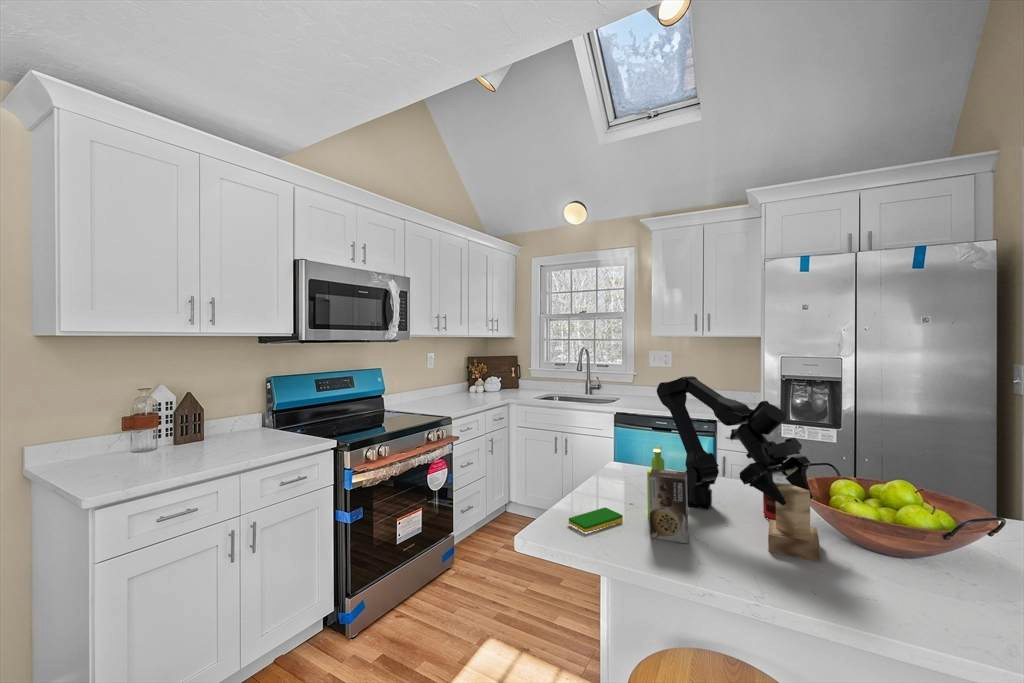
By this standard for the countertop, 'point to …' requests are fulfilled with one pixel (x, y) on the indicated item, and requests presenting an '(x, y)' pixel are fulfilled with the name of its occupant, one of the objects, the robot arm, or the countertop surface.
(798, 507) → the oak block
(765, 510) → the canned food
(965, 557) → the countertop surface
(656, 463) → the soap dispenser
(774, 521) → the light wood flat block
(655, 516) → the printed cardboard box
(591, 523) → the dish sponge
